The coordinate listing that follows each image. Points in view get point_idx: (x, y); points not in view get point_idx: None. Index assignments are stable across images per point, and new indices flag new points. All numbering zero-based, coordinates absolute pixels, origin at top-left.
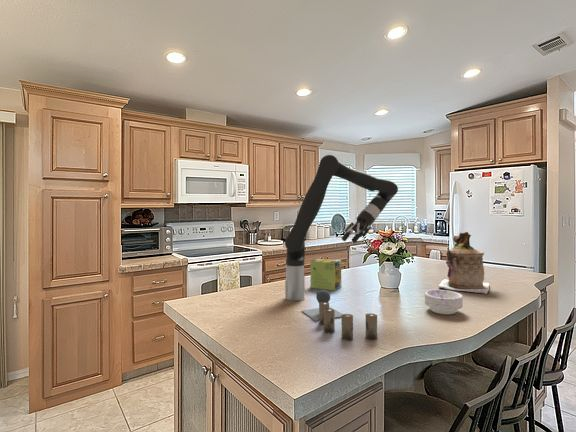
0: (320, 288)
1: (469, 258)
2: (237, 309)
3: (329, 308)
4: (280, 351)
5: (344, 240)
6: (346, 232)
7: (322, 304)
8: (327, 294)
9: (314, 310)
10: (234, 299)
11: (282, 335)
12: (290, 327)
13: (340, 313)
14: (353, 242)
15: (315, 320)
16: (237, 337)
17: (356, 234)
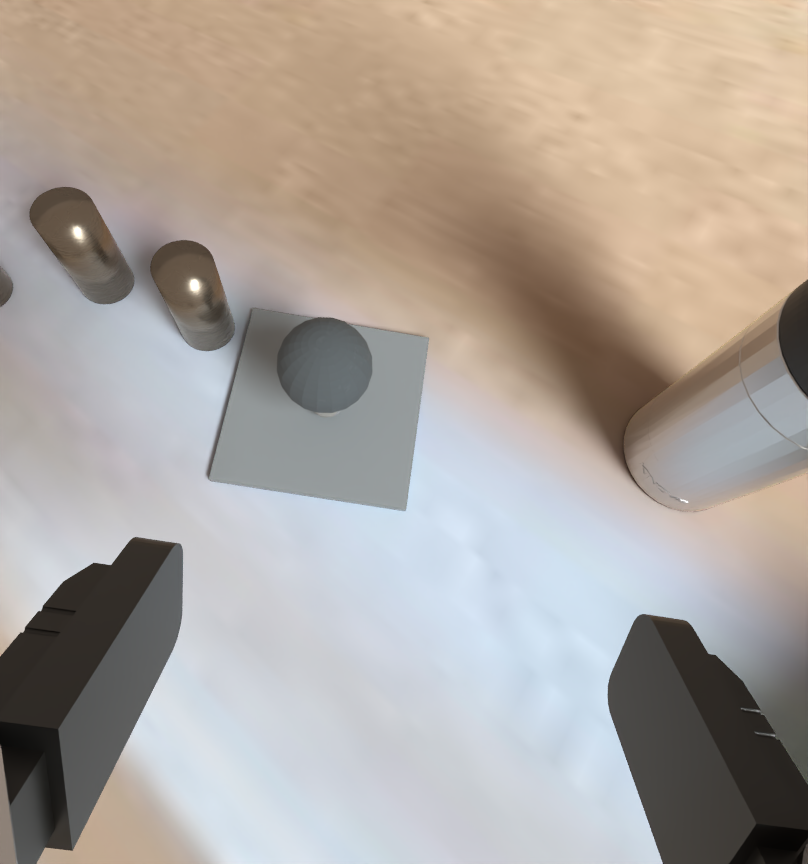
0: None
1: None
2: (612, 140)
3: (80, 227)
4: (83, 52)
5: (616, 684)
6: (804, 850)
7: (169, 245)
8: (281, 357)
9: (389, 391)
10: (784, 195)
11: (204, 124)
12: (261, 188)
13: (257, 478)
14: (178, 608)
15: (259, 310)
16: (291, 16)
17: (17, 701)
